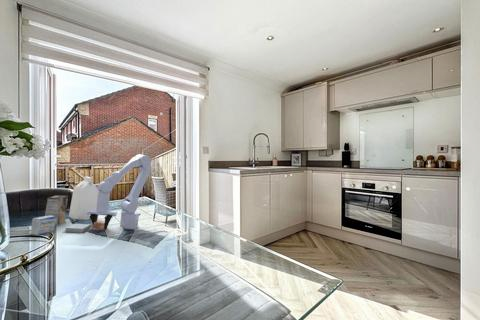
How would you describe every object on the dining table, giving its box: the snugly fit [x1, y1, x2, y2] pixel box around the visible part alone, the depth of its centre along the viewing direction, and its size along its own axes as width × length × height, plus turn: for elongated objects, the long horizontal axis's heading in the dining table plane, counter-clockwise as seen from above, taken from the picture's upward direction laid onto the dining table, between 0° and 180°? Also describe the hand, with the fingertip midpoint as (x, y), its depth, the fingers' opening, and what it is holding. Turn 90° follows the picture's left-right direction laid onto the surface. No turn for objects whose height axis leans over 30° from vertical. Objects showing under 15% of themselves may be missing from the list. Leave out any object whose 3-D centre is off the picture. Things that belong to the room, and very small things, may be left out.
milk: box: [68, 176, 99, 221], centre depth 148 cm, size 12×12×26 cm
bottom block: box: [63, 227, 93, 234], centre depth 120 cm, size 10×10×2 cm
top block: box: [64, 223, 92, 234], centre depth 121 cm, size 8×8×2 cm
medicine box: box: [30, 215, 56, 236], centre depth 113 cm, size 8×4×9 cm, turn 168°
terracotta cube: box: [92, 219, 105, 231], centre depth 126 cm, size 5×5×5 cm
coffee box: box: [44, 194, 69, 227], centre depth 127 cm, size 9×6×16 cm
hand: (100, 228), depth 126 cm, fingers closed on terracotta cube, 5 cm apart
